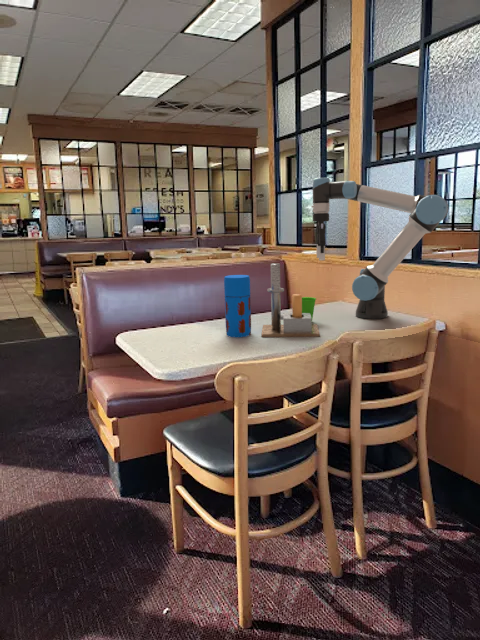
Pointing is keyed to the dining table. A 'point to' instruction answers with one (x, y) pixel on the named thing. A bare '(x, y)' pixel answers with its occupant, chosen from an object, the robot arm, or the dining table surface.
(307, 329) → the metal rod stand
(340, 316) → the dining table surface
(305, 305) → the cup
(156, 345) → the dining table surface
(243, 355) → the dining table surface
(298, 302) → the pin
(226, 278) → the thermos
